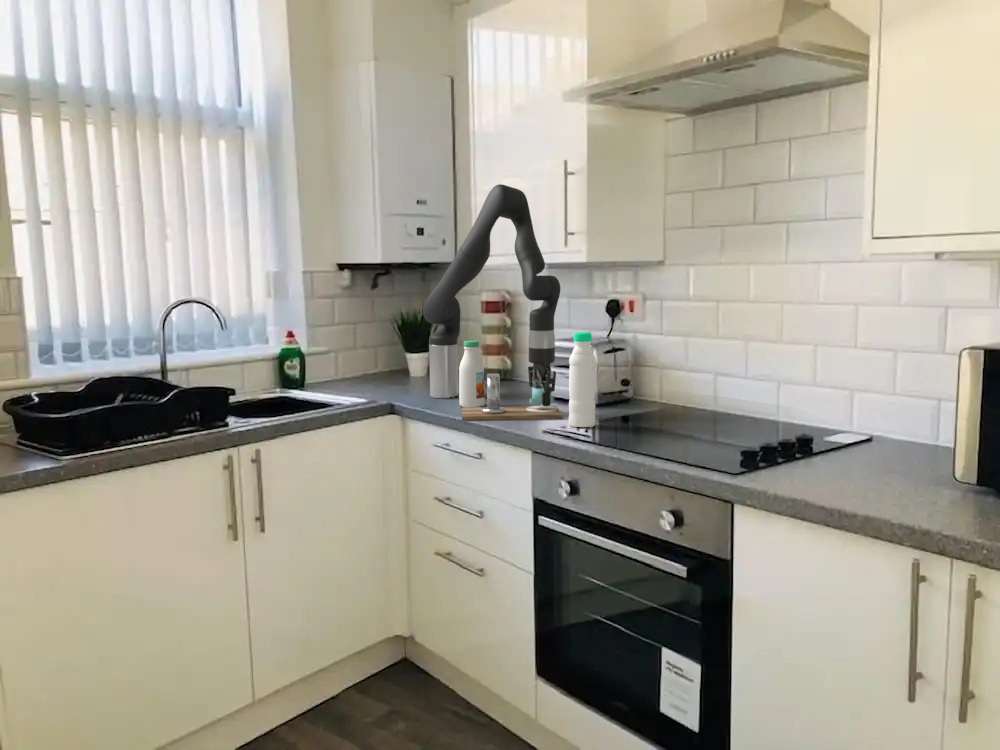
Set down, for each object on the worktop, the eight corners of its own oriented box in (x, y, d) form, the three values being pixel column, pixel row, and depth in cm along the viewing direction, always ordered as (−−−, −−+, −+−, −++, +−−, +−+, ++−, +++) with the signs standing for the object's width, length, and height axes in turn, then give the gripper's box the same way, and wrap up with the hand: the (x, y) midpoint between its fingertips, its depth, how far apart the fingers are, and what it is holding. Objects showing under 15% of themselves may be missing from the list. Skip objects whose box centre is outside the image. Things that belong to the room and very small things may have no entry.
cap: (548, 400, 233) (548, 382, 232) (557, 403, 228) (557, 385, 227) (526, 402, 230) (526, 384, 229) (534, 405, 225) (534, 386, 224)
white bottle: (594, 429, 208) (594, 333, 204) (567, 428, 209) (567, 333, 206) (596, 423, 215) (597, 331, 211) (570, 423, 216) (570, 331, 213)
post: (481, 409, 230) (480, 372, 228) (505, 409, 230) (504, 372, 229) (481, 414, 223) (481, 376, 222) (506, 414, 223) (506, 376, 222)
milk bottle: (468, 409, 238) (467, 342, 235) (454, 405, 244) (453, 340, 241) (489, 406, 242) (489, 341, 240) (475, 403, 249) (474, 339, 246)
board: (462, 411, 234) (462, 406, 234) (556, 410, 236) (556, 404, 235) (462, 420, 220) (461, 414, 220) (562, 419, 222) (562, 413, 221)
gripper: (565, 347, 222) (564, 407, 224) (542, 343, 235) (542, 399, 237) (540, 348, 219) (540, 409, 221) (519, 344, 232) (519, 401, 234)
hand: (541, 404), depth 229 cm, fingers closed on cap, 5 cm apart
